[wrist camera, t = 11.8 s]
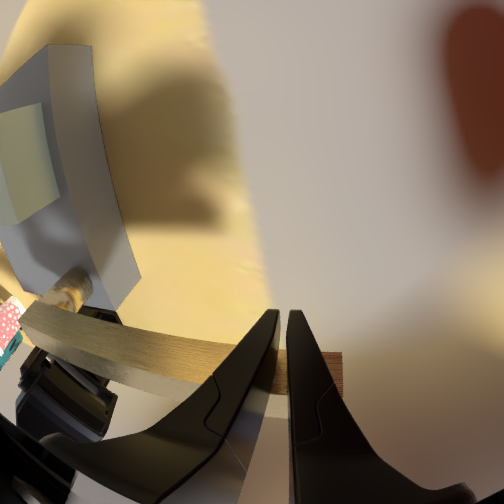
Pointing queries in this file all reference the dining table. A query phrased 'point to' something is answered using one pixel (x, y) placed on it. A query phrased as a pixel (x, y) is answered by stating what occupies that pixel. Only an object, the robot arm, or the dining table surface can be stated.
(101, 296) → the box
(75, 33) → the dining table surface
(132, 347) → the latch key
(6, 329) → the beverage cup
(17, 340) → the beverage bottle
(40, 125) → the rectangular block
